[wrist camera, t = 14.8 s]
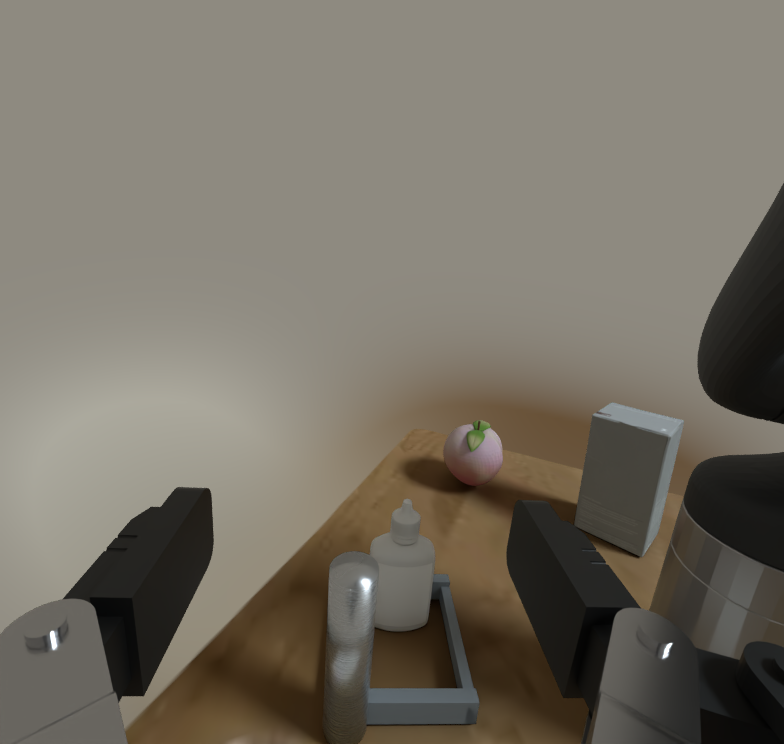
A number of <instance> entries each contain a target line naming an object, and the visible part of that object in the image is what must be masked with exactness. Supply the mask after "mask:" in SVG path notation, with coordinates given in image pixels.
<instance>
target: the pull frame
mask: <svg viewBox="0 0 784 744" xmlns="http://www.w3.org/2000/svg"><path fill="white" fill-rule="evenodd" d="M378 579H379V565H378V563H377V561H376V560H375V559H374V558H373V557H372V556H370V555H368V554H366V553H363V552H357V551H351V552H346V553H343V554H340V555H338V556H337V557H336V558H334V559H333V561H332V562H331V564H330V568H329V591H328V614H327V638H326V662H325V686H324V710H323V733H324V736H325V738H326V740H327V741H328V742H329V743H330V744H358V743H359V742H360V741H361V740H362V738H363V737H364V734H365V732H366V726H367V724H476V719H477V714H478V708H479V699H478V695H477V691H476V688H474V687H473V683H472V679H471V675H470V671H469V667H468V662H467V658H466V654H465V650H464V646H463V642H462V638H461V633H460V629H459V625H458V621H457V617H456V613H455V608H454V604H453V600H452V596H451V592H450V588H449V585H450V581H449V577H448V575H447V574H434V575H433V584H432V592H431V599H439V601H440V606H441V611H442V616H443V621H444V625H445V630H446V635H447V640H448V645H449V650H450V655H451V660H452V665H453V670H454V675H455V679H456V684H457V688H370V677H371V665H372V653H373V640H374V628H375V616H376V603H377V591H378Z"/></svg>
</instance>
